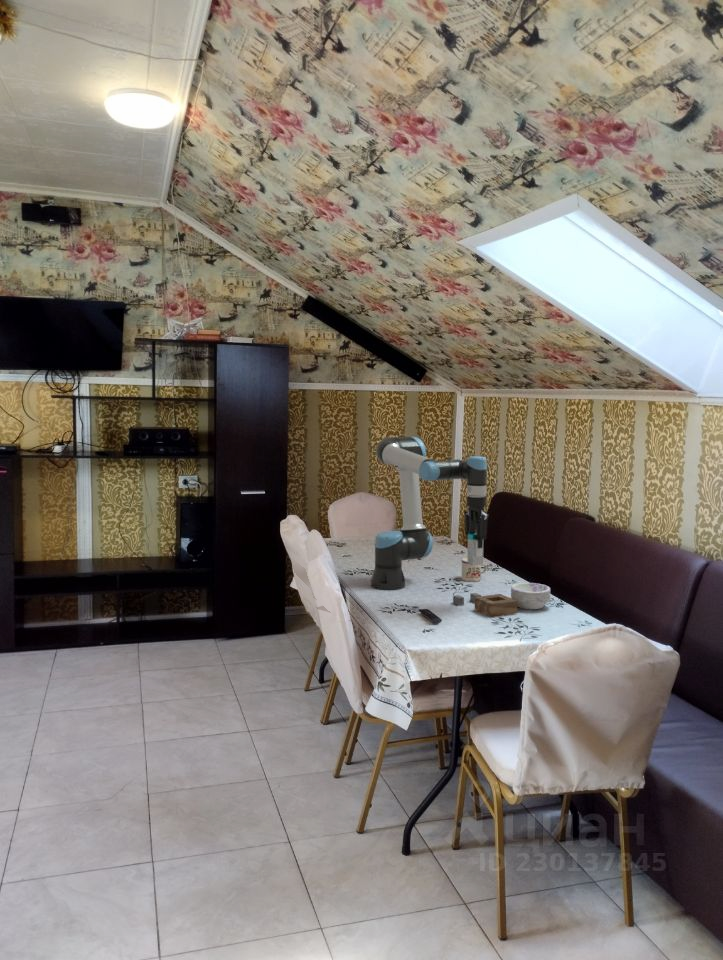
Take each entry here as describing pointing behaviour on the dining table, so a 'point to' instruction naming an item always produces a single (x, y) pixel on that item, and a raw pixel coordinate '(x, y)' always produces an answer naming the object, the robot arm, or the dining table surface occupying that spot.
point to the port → (495, 605)
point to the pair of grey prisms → (460, 600)
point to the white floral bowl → (530, 595)
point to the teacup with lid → (471, 571)
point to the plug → (473, 551)
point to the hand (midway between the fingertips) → (475, 554)
